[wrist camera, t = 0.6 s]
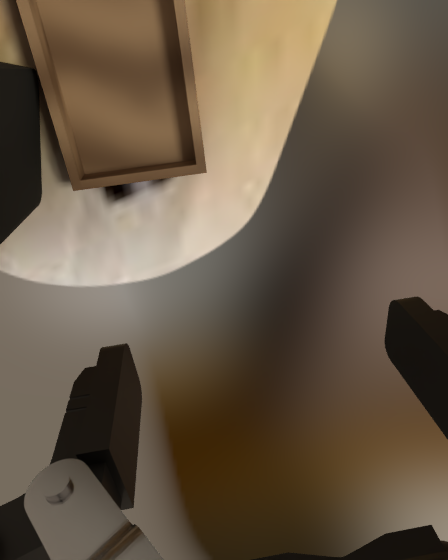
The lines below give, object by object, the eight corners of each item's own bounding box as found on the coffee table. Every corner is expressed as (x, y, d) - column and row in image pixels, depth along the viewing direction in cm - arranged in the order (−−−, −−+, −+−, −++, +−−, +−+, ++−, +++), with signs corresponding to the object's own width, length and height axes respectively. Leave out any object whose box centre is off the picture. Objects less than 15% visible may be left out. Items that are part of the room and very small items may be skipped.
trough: (5, -78, 24) (-12, -93, 22) (170, -94, 25) (170, -110, 23) (80, 182, 32) (73, 190, 30) (204, 165, 33) (206, 172, 31)
